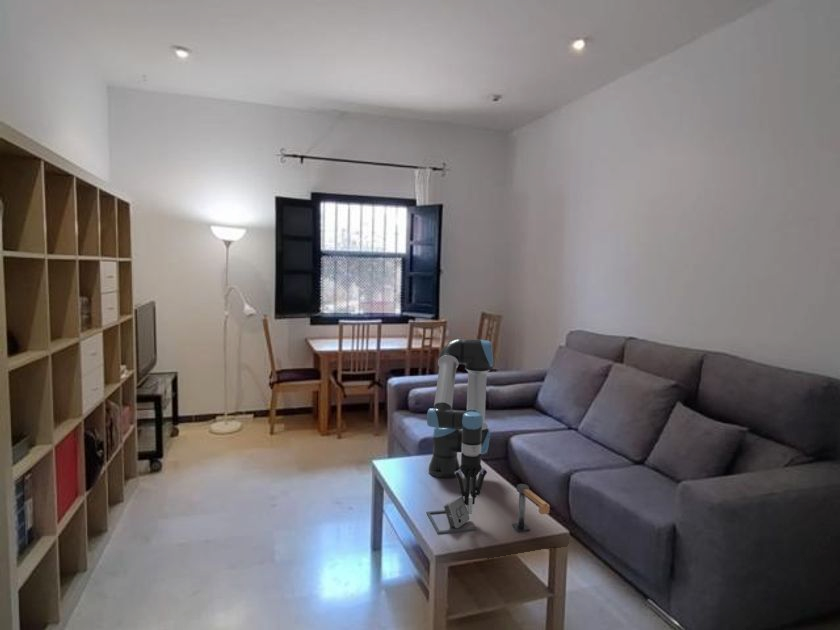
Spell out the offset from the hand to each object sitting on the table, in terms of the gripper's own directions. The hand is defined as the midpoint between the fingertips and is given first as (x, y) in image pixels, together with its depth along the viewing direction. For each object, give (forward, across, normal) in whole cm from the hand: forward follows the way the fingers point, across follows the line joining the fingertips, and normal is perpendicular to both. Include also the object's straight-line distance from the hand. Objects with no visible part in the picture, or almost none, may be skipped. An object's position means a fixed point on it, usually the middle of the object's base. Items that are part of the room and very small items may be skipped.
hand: (469, 512), depth 193 cm
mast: (+3, +17, -10) cm, 20 cm away
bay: (+3, -7, 0) cm, 8 cm away
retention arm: (-10, +18, -16) cm, 26 cm away
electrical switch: (+3, -6, -2) cm, 7 cm away
